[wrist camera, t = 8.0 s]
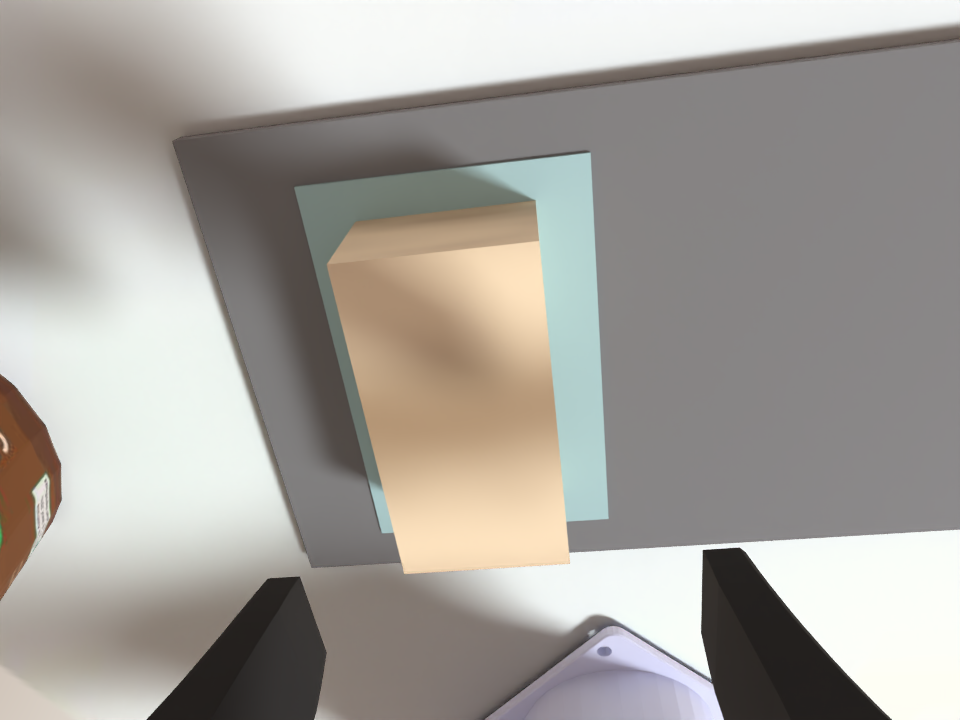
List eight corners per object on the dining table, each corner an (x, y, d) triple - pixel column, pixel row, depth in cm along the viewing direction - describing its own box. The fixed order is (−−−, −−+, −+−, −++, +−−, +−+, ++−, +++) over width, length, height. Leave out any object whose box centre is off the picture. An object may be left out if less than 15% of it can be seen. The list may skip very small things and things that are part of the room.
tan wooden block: (563, 491, 21) (569, 563, 18) (418, 501, 22) (404, 574, 19) (535, 200, 17) (539, 240, 14) (355, 221, 17) (326, 265, 15)
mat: (315, 556, 24) (311, 570, 23) (181, 137, 17) (170, 141, 17) (1071, 510, 21) (1086, 524, 21) (1255, 1, 15) (1282, 1, 14)
